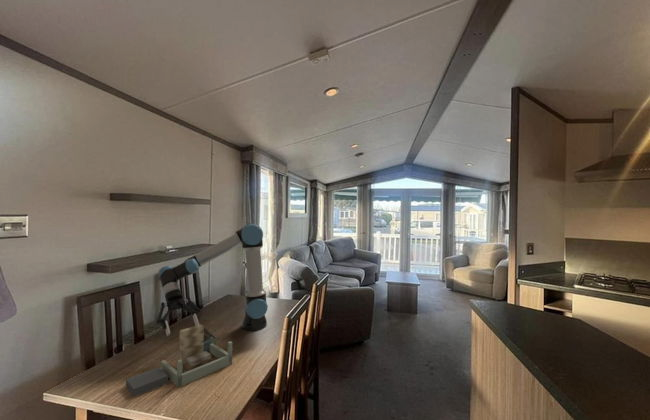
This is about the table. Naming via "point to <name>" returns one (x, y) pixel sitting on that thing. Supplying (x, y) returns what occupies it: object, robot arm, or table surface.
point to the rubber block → (146, 381)
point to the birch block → (191, 342)
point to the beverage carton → (208, 340)
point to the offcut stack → (196, 361)
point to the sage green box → (201, 371)
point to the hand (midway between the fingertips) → (183, 330)
